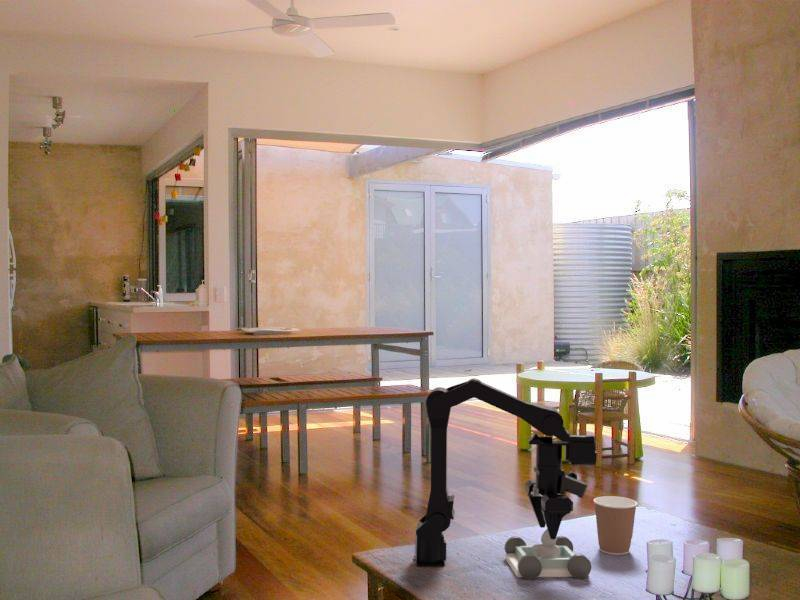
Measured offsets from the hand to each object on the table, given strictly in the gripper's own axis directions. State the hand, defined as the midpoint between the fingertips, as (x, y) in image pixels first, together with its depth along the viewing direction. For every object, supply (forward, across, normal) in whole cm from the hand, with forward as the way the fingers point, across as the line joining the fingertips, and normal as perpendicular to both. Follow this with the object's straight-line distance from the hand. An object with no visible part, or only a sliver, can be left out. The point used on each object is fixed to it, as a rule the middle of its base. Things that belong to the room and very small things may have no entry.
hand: (547, 533), depth 192 cm
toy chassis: (+8, 0, 0) cm, 8 cm away
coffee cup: (+8, +12, -20) cm, 25 cm away
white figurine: (+7, 0, 0) cm, 7 cm away
